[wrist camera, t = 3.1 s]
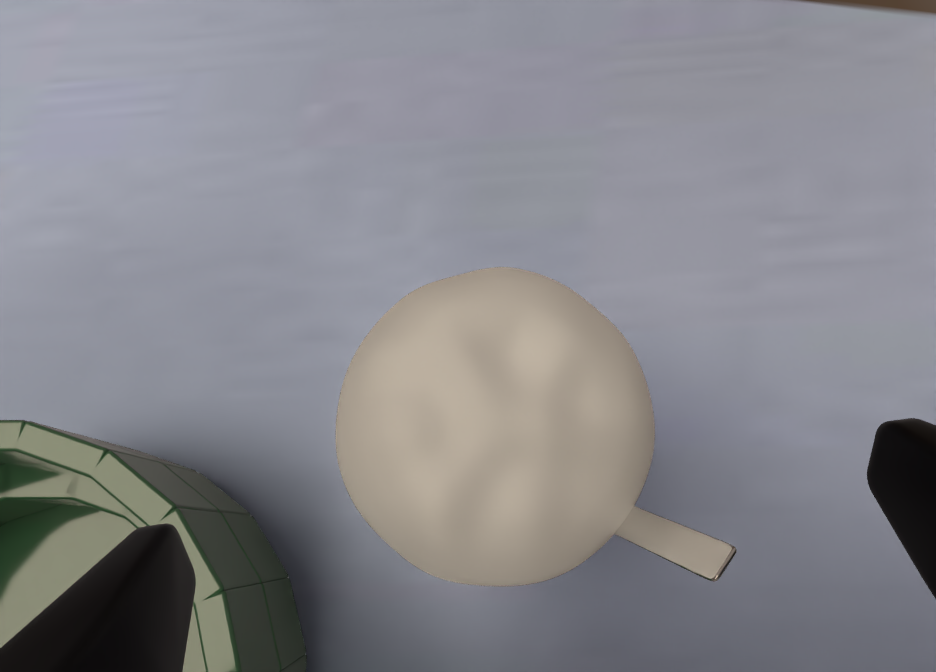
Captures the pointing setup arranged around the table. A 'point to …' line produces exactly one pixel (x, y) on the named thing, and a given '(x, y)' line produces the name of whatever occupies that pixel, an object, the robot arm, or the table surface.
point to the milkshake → (504, 434)
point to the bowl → (115, 517)
